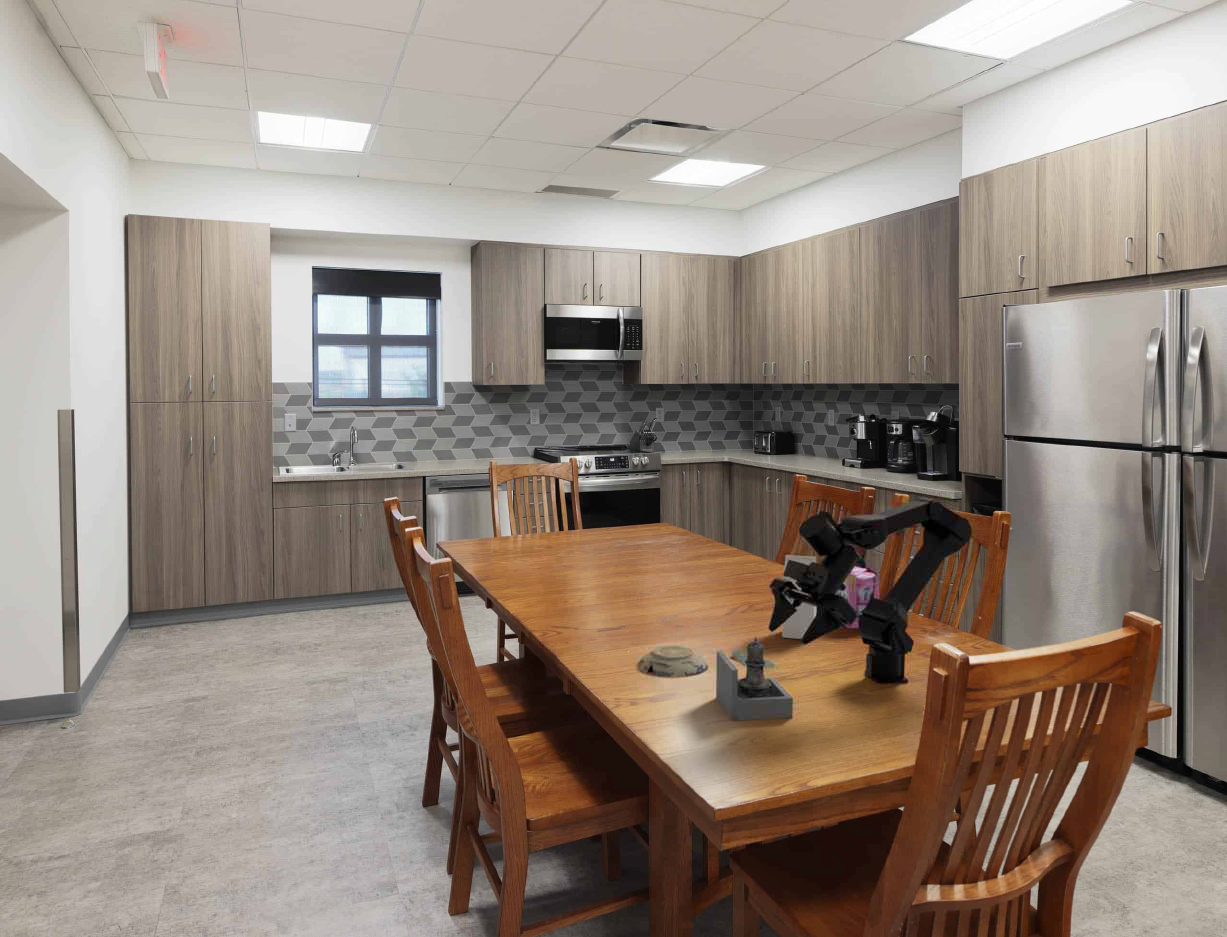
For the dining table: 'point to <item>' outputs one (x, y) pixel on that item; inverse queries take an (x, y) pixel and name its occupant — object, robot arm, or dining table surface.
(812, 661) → the dining table surface
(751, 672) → the salt shaker
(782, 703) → the shaker rack
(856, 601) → the gum box
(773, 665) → the leaf
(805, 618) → the milk carton
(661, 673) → the decorative bowl
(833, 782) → the dining table surface
